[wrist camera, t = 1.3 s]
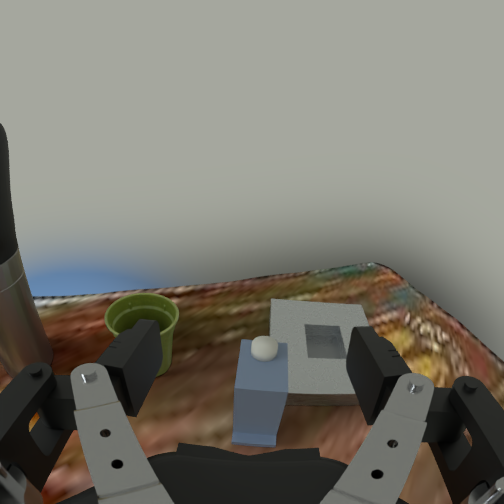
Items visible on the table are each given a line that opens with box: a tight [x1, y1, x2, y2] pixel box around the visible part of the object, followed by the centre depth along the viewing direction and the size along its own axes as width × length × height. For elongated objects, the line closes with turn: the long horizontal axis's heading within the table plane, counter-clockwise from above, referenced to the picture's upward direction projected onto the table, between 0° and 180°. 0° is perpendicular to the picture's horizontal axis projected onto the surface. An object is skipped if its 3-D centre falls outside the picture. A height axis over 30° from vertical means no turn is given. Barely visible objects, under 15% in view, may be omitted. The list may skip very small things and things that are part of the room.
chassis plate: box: [269, 299, 369, 406], centre depth 41 cm, size 20×16×2 cm
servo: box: [232, 336, 288, 448], centre depth 28 cm, size 10×4×12 cm, turn 176°
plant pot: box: [105, 293, 179, 377], centre depth 36 cm, size 9×9×9 cm
